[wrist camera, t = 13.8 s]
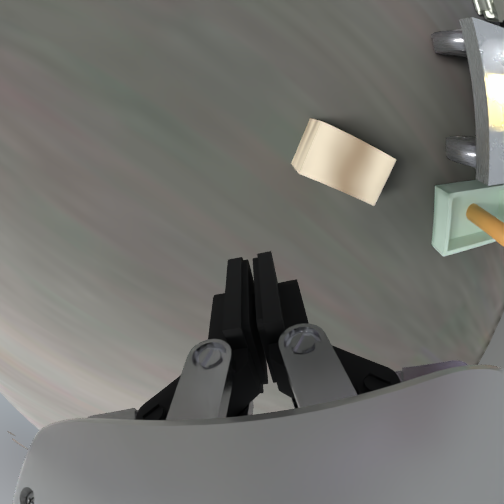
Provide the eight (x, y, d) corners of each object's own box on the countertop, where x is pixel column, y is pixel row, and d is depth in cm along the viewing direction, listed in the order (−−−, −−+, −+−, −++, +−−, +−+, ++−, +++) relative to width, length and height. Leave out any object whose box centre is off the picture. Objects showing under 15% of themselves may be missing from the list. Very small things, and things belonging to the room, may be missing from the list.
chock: (290, 163, 28) (299, 173, 24) (309, 118, 26) (321, 121, 22) (357, 191, 30) (374, 206, 26) (376, 150, 27) (396, 159, 24)
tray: (431, 245, 33) (443, 256, 30) (434, 185, 29) (448, 193, 26) (495, 228, 32) (506, 237, 29) (500, 176, 28) (514, 183, 25)
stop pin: (462, 225, 31) (514, 269, 21) (464, 201, 29) (520, 241, 20) (478, 221, 31) (529, 262, 21) (481, 198, 29) (536, 235, 19)
